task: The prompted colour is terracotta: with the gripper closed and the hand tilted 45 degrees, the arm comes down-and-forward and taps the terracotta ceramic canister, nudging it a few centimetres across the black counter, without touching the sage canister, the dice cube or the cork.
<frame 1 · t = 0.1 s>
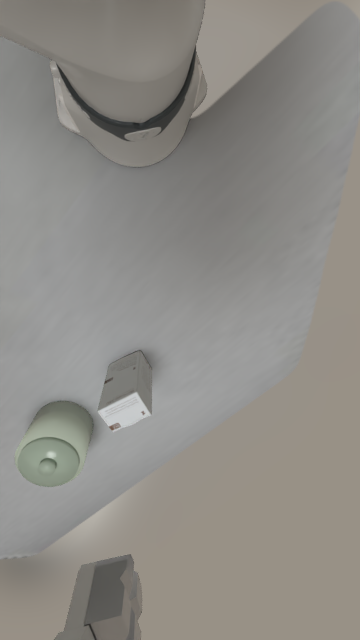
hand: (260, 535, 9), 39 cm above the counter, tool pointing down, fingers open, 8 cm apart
skincare box: (130, 367, 50), on the counter
sage canister: (64, 425, 52), on the counter
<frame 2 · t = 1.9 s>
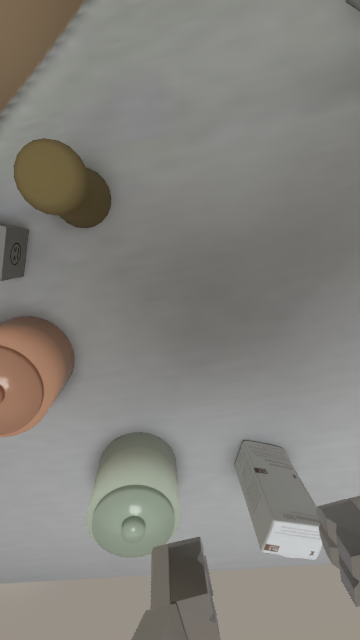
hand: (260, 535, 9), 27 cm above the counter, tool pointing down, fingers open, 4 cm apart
skincare box: (256, 455, 41), on the counter
dice cube: (3, 248, 32), on the counter
sage canister: (138, 465, 40), on the counter
terracotta canister: (30, 357, 35), on the counter
cork: (82, 198, 32), on the counter
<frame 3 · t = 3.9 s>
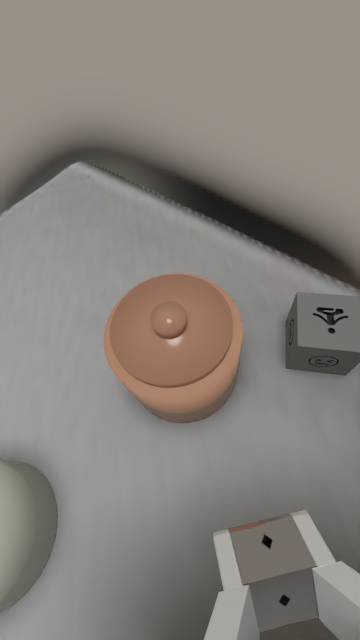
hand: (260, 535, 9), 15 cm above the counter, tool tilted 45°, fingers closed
dice cube: (313, 347, 28), on the counter
terracotta canister: (183, 368, 28), on the counter
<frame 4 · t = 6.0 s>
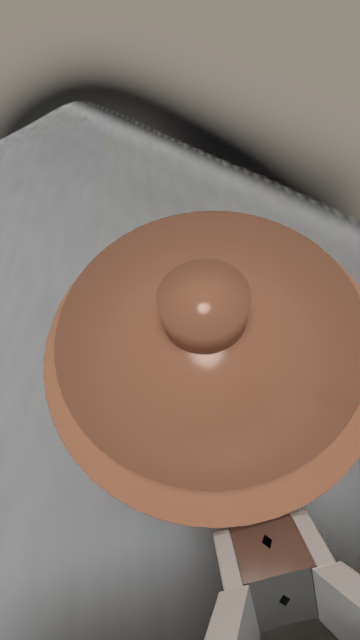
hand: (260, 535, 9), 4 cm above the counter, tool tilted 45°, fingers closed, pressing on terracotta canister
terracotta canister: (208, 400, 16), on the counter, touching gripper
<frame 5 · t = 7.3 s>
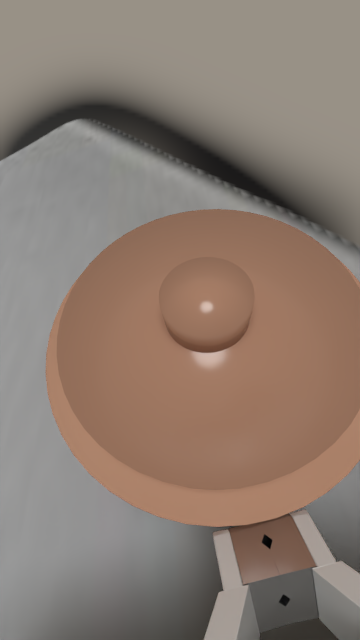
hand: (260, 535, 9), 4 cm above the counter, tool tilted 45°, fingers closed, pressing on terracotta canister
terracotta canister: (210, 399, 16), on the counter, touching gripper
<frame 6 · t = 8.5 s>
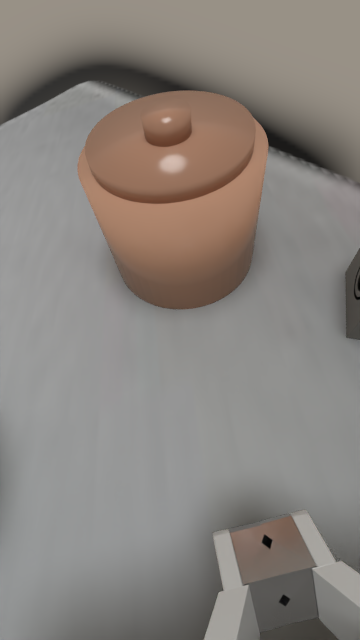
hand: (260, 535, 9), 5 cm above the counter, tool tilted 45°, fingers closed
terracotta canister: (184, 253, 23), on the counter
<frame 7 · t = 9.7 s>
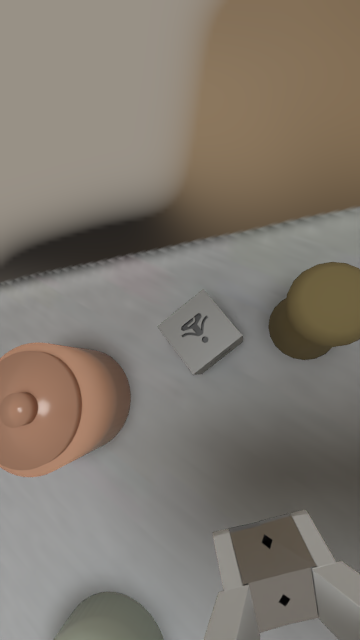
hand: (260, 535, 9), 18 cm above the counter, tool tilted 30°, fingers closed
dice cube: (206, 337, 29), on the counter
terracotta canister: (84, 398, 31), on the counter
cork: (302, 326, 28), on the counter
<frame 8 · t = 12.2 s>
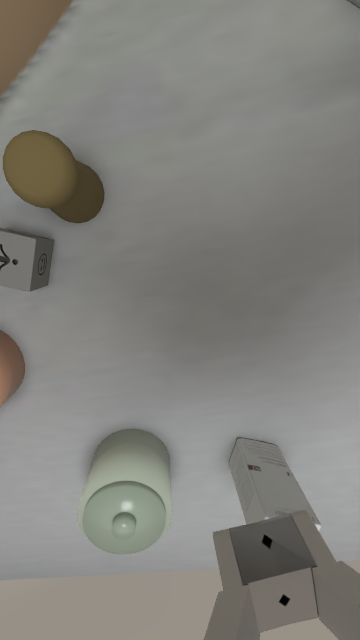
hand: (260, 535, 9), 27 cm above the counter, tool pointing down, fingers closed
skincare box: (250, 453, 41), on the counter
dice cube: (28, 257, 33), on the counter
sage canister: (131, 462, 40), on the counter
cork: (75, 193, 32), on the counter
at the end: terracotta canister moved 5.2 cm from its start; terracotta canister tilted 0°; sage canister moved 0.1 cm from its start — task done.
